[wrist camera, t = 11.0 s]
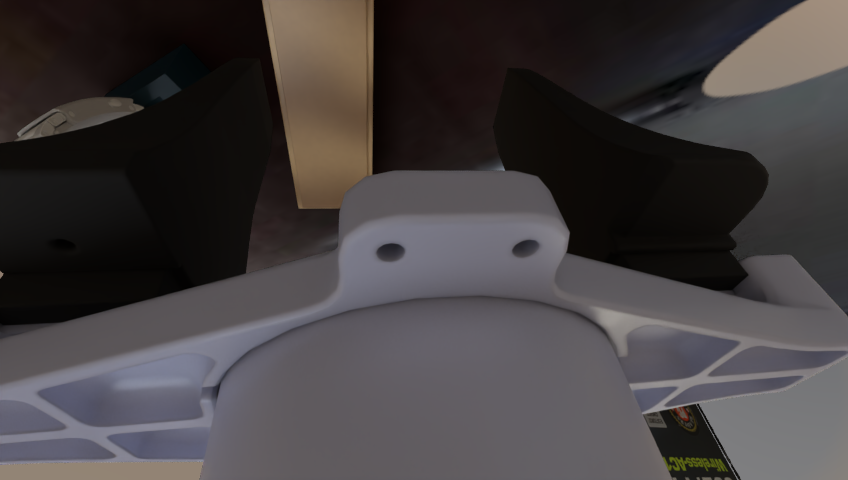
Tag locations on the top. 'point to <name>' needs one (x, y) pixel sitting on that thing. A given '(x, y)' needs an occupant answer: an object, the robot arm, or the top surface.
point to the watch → (123, 96)
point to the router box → (689, 445)
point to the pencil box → (324, 93)
